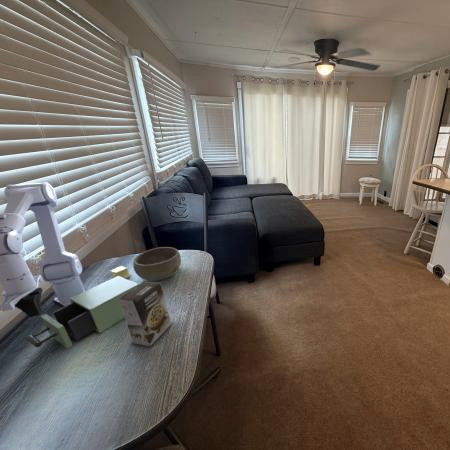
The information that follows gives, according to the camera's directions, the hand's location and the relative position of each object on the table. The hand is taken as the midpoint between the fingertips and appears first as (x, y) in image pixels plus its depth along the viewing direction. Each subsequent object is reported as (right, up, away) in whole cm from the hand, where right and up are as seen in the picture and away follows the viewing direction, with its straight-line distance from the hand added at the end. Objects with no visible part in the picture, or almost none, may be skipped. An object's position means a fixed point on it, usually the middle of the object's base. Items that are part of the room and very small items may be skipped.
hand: (35, 314), depth 70 cm
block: (-1, +3, +34) cm, 35 cm away
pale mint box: (+12, -4, +14) cm, 19 cm away
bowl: (+16, +4, +36) cm, 40 cm away
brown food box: (+32, -8, +5) cm, 33 cm away
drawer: (+7, -7, +5) cm, 11 cm away
